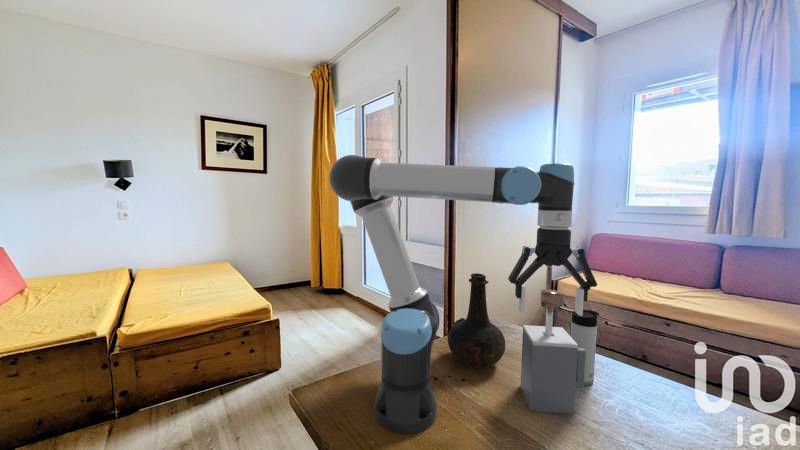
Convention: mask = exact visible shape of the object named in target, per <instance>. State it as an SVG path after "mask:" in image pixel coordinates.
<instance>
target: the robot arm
mask: <svg viewBox="0 0 800 450" xmlns="http://www.w3.org/2000/svg"><path fill="white" fill-rule="evenodd" d="M574 170H575V168H574V166H573V165H572V164H571V163H565V162H562V163H561V162H556V163H544V164H542V165H540V167H539V170H538V171H535V170H534V169H533V168H532V167H528V166H519V165H518V166H515V167H501V166H500V167H495V166H476V165H475V166H474V165H472V166H471V165H450V164H448V165H446V164H422V163H421V164H420V163H400V162H398V163H396V162H383V161H382V160H381V159H380V158H379V157H378V158H377V157H367V156H360V155H355V154H350V155H345V156H342V157H340V158H339V159H337V160H336V161H335V162H334V164H333V165H332V166H331V169H330V172H329V185H330V187H331V190H332V191H333V192H334V194H335V195H336V196H337V197H339V198H341V200H345V201H347V202H349V203H350V204H351V208H352V210H353V213H354V214H355V215H358V216H360V217H361V219H362V221H363V224H364V227H365V230H366V232H367V235H368V238H369V241H370V243H371V246H372V249H373V251H374V254H375V257H376V260H377V262H378V265H379V269H380V270H381V273H382V277H383V279H384V281H385V285H386V287H387V290H388V293H389V295H390V299H389V302H388V304H387V306H388V309H389V311H390V312H389V313H388V314H387V315H386V316H385V317H384V318H383V320H382V323H381V329H380V338H381V339H380V340H381V381H380V383H379V387H378V389H377V392H376V395H375V399H374V403H373V415H374V418H375V420H376V422H377V423H378V424H379V425H380V426H382V427H383V428H385V429H386V430H388V431H390V432H393V433H397V434H404V435H405V434H409V435H410V434H417V433H419V432H423V431H425V430H427V429H428V428H430V427H431V426H432V425H433V424H434V423H435V421H436V419H437V416H438V404H437V399H436V396H435V392H434V389H433V386H432V383H431V382H432V381H431V353H432V347H433V344H434V341H435V339H436V336H437V333H438V331H439V327H440V322H441V321H440V312H439V309H438V306H437V305H436V303H434V301H432V300H431V298H430V295H429V293H428V292H429V291H428V290H427V289H425V288H423V287H421V286H420V284H419V281H418V278H417V275H416V272H415V270H414V268H413V265H412V261H411V259H410V256H409V254H408V251H407V247H406V245H405V242H404V240H403V236H402V234H401V231H400V229H399V226H398V224H397V220H396V218H395V215H394V212H393V209H392V204H393V201H394V200H395V199H394V197H401V198H419V199H433V200H446V201H447V200H449V201H468V202H484V203H495V204H509V205H510V204H512V205H517V206H519V205H520V206H522V205H523V206H524V205H525V206H526V205H528V204H537V206H538V207H537V224H536V225H537V226H539V227H538V228H537V230H536V245H535V247H532V246H531V247H529V246H528V245H523V246H522V251H521V255H520V257H519V259H518V260H517V262H516V263H515V264H514V266H513V267H514V268H513V269H512V271H510V272H511V273H510V274H509V276H508V278H507V280H508V282H510V283H511V284H513V285H515V293H514V294H515V297H516V299H518V310H519V311H520V313H525V304H526V301H525V300H526V286H525V285H524V284H525V283H526V282H527V281H528V280H529V279H530V278H531V277H532V276H533V275H534V274H535V273H536V272H537V271H538V270H539V268H542V267H543V266H544V265H545V266H547V267H550V266H551V267H552V266H555V267H561V266H563V267H564V268H565V269H566V271H567V272H568V273H569V274H570V275H571V276H572V278H573V279H574V280H575V281H576V283H577V284H578V285H579V286H578V285H576V287H575V304H574V311H575V312H576V313H577V314H578V315H579V316H583V310H584V302H585V303H586V302H588V295H589V291H590V290H591V288H592V287H593V288H596V287H597V286H598V281H596V279H595V276H594V274H593V272H592V270H591V267H590V265H589V264H588V261H587V259H586V255H585V253H586V251H585V249H584V248H582V247H578V246H577V247H575V248H571V239H572V231H571V229H569V228H571V227H572V221H573V220H572V218H573V201H574V199H573V198H574V190H575V189H574V187H575V171H574ZM533 254H535V256H536V258H535V259H534V260H533V261H532V263H531V264H530V265H529V266H527V268H525V270H524V271H523V269H524V267H525V266H526V264H527V262H528V260H529V259H530V257H531V256H533ZM571 256H573V257H575V259H576V261H577V263H578V266H579V268H580V270H581V271H582V274H583V276H584V278H585V279H584V278H583V277H582V276H581V274H580V273H579V271H577V269H575V267H574V266H573V264H572V263H571V261H569V258H570V257H571ZM522 271H523V272H522ZM521 272H522V273H521Z"/></svg>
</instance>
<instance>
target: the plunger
mask: <svg viewBox="0 0 800 450" xmlns="http://www.w3.org/2000/svg"><path fill="white" fill-rule="evenodd" d="M540 306H541V307H543V308H545V325H544V326H545V336H552V327H554V326H553V323H554V310H555V309H556V310H557V309H560V308H561V292H560V291H558V290H555V289H546V288H545V289H541V290H540Z"/></svg>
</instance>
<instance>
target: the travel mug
mask: <svg viewBox="0 0 800 450" xmlns="http://www.w3.org/2000/svg"><path fill="white" fill-rule="evenodd" d="M598 316H599V317H600V313H599V312H598V311H596V310H589V309H583V316H579V315H578V314H577V313H576V312H575V310H573V311H572V312H571V320H570V321H571V322H570V336H571V338H572V339H573V340H574V341H575V342H576V343H577V344H578V348H584V350H585V351H586V355H585V371H584V386H590V385H593V384H594V380H595V379H594V378H595V362H596V347H597V336H598V335H597V333H598V332H597V331H598V330H597V329H598Z"/></svg>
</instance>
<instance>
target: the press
mask: <svg viewBox="0 0 800 450" xmlns="http://www.w3.org/2000/svg"><path fill="white" fill-rule="evenodd" d="M545 326H546V325H542V326H541V325H531V324H530V325H529V324H528V325H527V324H526V325H525V324H524V325H522V341H521V343H522V344H521V345H522V346H521V364H520V366H521V367H520V388H521V392H522V393H523V395H524V398H525V401H526V404H527V406H528V409H529V410H530V411H535V412H536V411H537V412H546V413H556V414H558V413H559V414H567V415H574V414H575V400H576V389H577V390H584V388H585V387H584V386H585V385H584V371H585V355H586V351H585V350H584V348H578V344H577V343H576V342H575V341H574V340H573V339H572V338H571V334H569V333H568V332H567V330H565V328H564V327H562V326H561V327H559V326H553V327H552V336H545Z"/></svg>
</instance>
